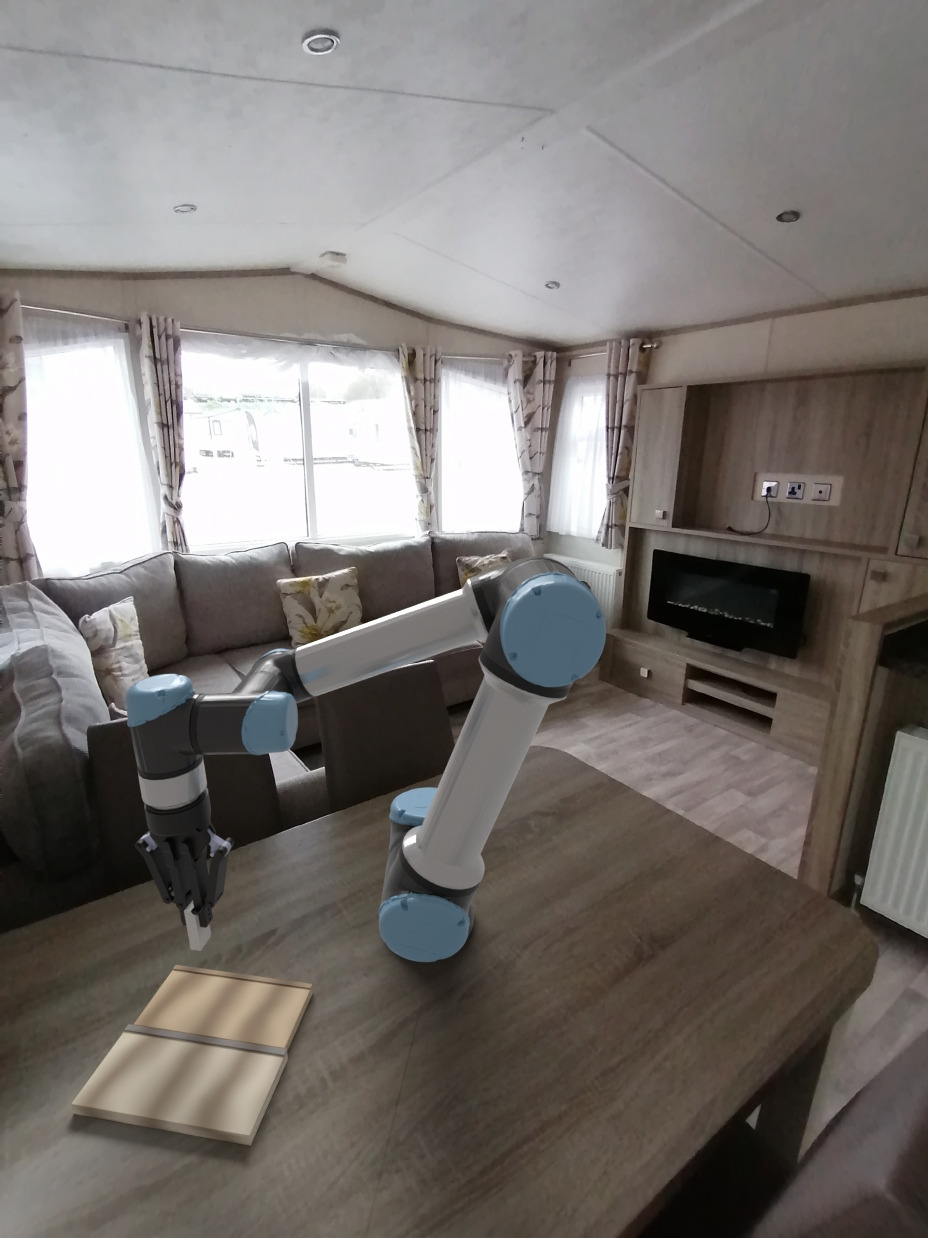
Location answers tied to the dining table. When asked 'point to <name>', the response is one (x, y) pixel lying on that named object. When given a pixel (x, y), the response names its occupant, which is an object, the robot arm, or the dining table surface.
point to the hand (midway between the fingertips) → (201, 942)
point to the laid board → (184, 1084)
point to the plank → (228, 1006)
